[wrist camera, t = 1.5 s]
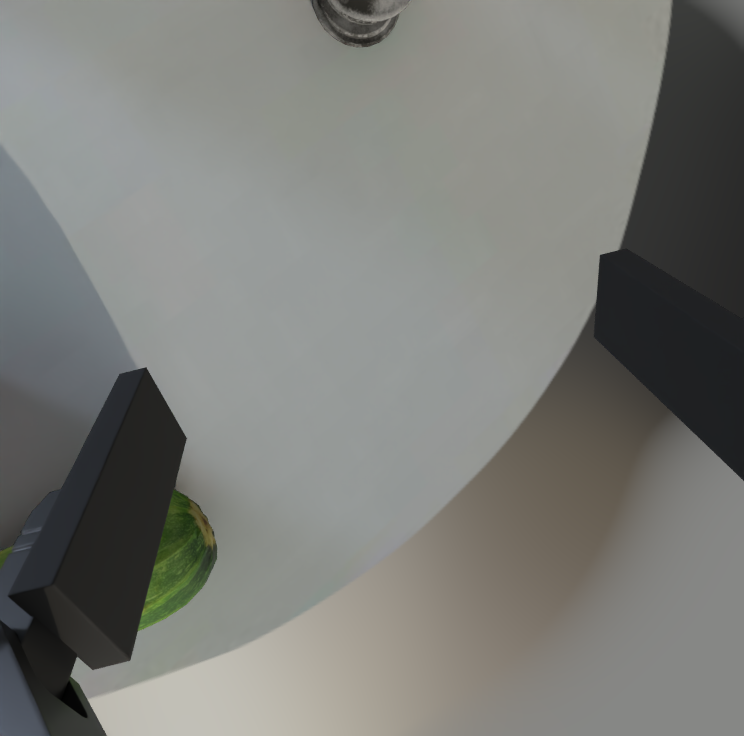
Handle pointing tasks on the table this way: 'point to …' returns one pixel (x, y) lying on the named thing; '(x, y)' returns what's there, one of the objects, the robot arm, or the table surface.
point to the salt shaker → (359, 19)
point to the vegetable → (176, 560)
